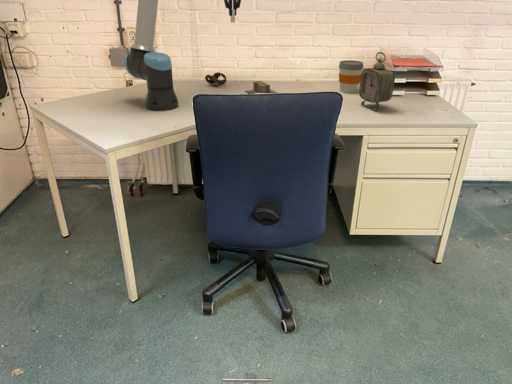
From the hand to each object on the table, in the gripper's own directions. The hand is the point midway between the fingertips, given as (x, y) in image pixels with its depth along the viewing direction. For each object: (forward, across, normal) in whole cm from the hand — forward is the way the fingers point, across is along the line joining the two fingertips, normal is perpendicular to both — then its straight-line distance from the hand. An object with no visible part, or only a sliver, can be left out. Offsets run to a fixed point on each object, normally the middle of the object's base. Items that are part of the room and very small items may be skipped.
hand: (232, 22), depth 220 cm
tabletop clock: (+32, -41, +75) cm, 92 cm away
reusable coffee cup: (+32, -49, +44) cm, 74 cm away
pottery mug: (+33, +13, +5) cm, 35 cm away
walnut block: (+30, -4, +23) cm, 38 cm away
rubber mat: (+32, -4, +29) cm, 44 cm away
